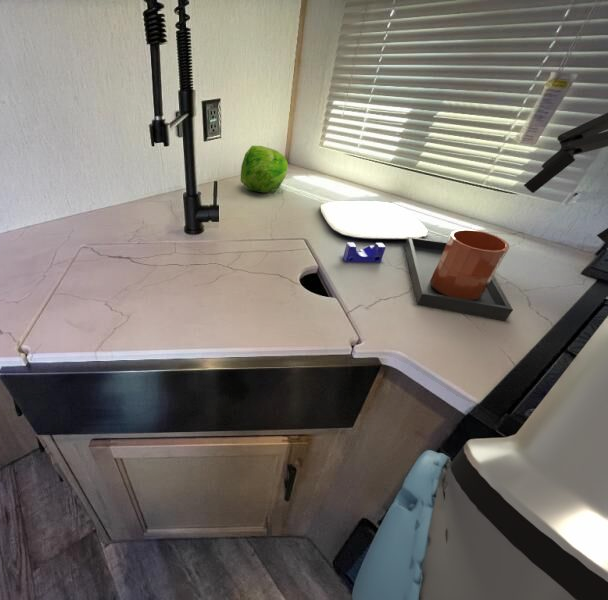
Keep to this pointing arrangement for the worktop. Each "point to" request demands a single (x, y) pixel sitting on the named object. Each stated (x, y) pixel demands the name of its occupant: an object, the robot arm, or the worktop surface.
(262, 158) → the lettuce
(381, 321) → the worktop surface
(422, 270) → the tray
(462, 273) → the terracotta plant pot
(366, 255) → the cable holder
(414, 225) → the plate
